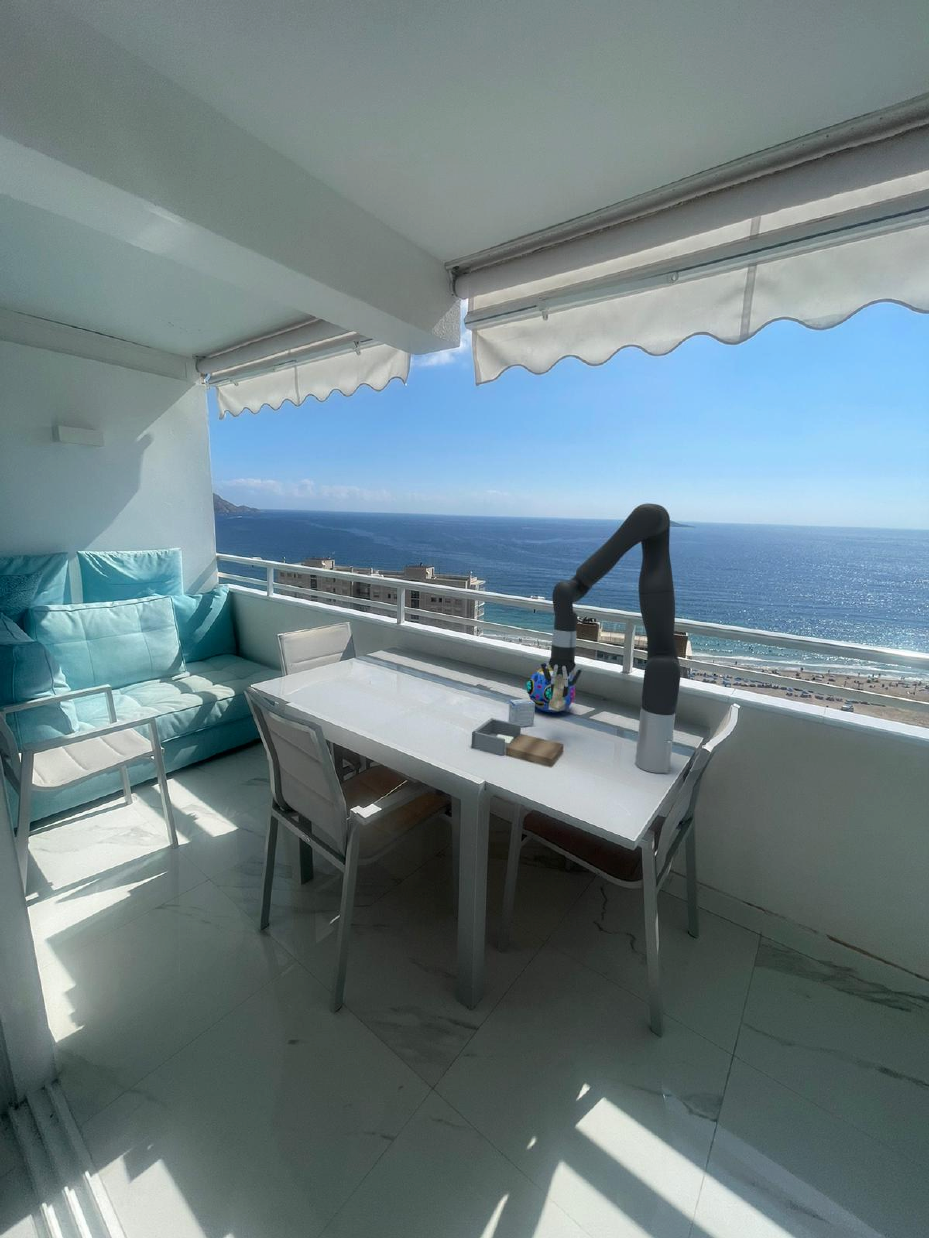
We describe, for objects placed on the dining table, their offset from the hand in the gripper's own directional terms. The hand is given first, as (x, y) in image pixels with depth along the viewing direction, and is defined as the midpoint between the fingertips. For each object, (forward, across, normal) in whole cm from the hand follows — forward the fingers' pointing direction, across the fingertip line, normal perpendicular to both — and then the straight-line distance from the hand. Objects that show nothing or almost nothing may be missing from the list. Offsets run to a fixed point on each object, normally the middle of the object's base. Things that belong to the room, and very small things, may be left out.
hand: (559, 695), depth 155 cm
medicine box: (+15, -14, +4) cm, 21 cm away
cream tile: (+14, -12, -15) cm, 24 cm away
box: (+15, -15, -15) cm, 25 cm away
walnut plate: (+15, -2, -15) cm, 21 cm away
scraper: (+4, 0, -2) cm, 5 cm away
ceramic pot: (+15, -10, +24) cm, 30 cm away
